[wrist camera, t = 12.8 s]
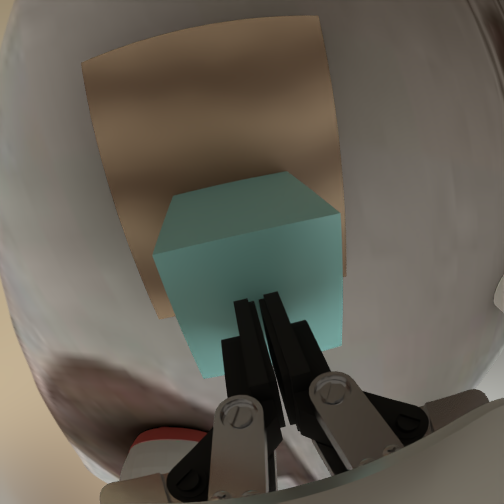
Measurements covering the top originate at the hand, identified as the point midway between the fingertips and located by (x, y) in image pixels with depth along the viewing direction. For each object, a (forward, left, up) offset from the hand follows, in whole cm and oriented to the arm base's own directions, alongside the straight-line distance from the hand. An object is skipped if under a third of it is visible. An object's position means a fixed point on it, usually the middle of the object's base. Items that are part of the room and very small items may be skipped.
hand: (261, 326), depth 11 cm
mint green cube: (0, 0, -8) cm, 8 cm away
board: (-4, 0, -10) cm, 11 cm away
